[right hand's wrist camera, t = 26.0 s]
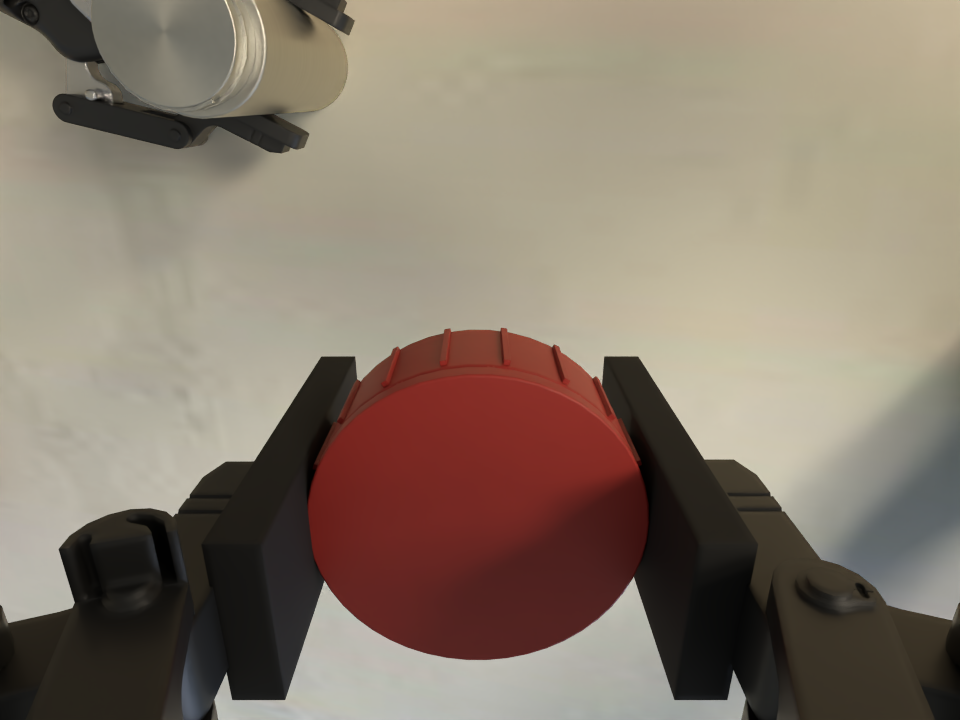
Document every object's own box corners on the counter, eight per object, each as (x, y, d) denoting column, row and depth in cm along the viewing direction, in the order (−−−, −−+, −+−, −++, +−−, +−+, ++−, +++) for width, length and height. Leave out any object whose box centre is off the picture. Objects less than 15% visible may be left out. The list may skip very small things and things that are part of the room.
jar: (241, 35, 34) (43, -23, 18) (322, -3, 33) (192, -97, 17) (284, 125, 35) (138, 144, 20) (362, 91, 35) (277, 83, 19)
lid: (560, 609, 14) (574, 694, 12) (300, 537, 13) (267, 615, 11) (675, 382, 12) (716, 438, 10) (374, 283, 11) (351, 320, 9)
